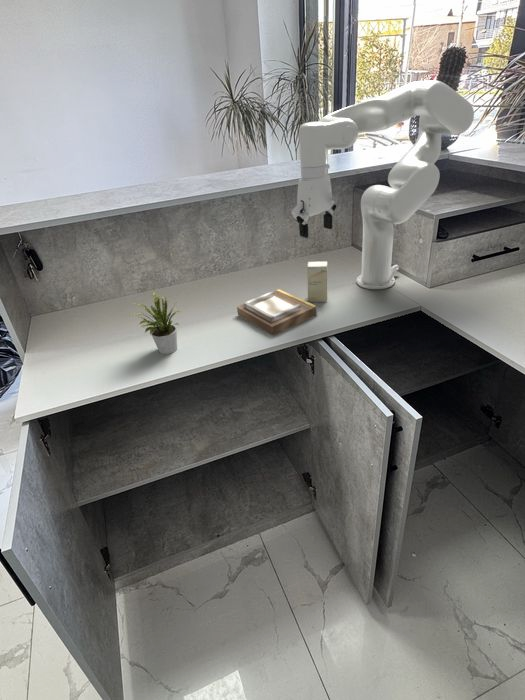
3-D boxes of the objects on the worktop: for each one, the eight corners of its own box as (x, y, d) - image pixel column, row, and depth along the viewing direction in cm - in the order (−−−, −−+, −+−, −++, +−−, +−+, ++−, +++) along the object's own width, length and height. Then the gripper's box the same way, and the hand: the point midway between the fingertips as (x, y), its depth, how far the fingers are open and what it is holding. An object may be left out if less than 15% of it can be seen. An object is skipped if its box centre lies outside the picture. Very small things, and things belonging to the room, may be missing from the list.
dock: (279, 297, 146) (278, 285, 143) (316, 315, 133) (316, 302, 130) (237, 315, 138) (236, 302, 135) (272, 335, 125) (271, 322, 123)
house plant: (136, 343, 128) (122, 293, 120) (182, 330, 133) (171, 281, 124) (146, 367, 117) (130, 313, 108) (195, 352, 121) (184, 299, 112)
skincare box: (307, 302, 141) (306, 266, 135) (308, 296, 145) (307, 261, 138) (327, 301, 140) (327, 266, 133) (327, 295, 144) (327, 260, 137)
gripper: (327, 165, 128) (328, 223, 137) (281, 176, 120) (286, 237, 129) (346, 167, 123) (345, 227, 132) (299, 179, 115) (302, 243, 124)
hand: (316, 232), depth 130 cm, fingers open, 9 cm apart
